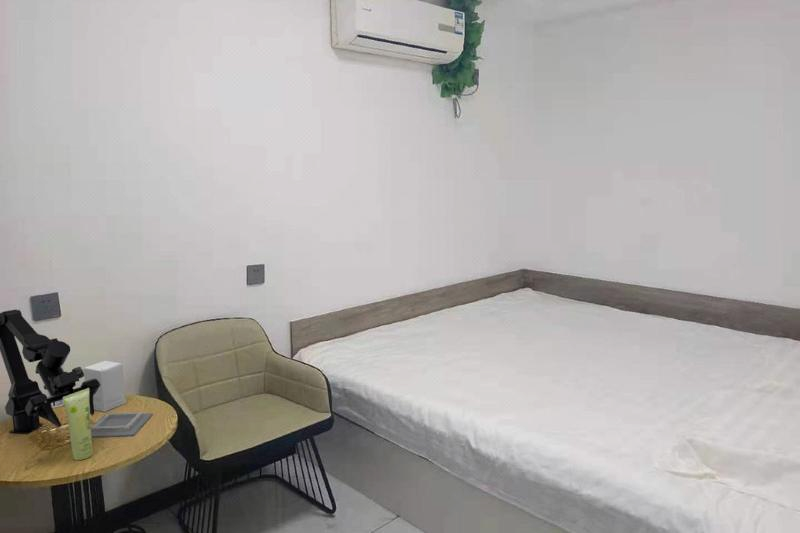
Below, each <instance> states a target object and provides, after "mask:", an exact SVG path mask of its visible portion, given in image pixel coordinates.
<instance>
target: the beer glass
mask: <svg viewBox="0 0 800 533" xmlns="http://www.w3.org/2000/svg"><path fill="white" fill-rule="evenodd" d="M61 367H62V369H63V371H64V372H66V371H65V366H64V364H63V365H62V366H61ZM41 382H42V385H43V387H44V385H45V384H44V383H43V381H42V380H41ZM44 392H45V395H46V396H47V397H50V394H49V392H48V390H47V389H46V390H45V389H44ZM51 406H52V409H54V408H60V407H62V406H63V407H64V406H65V405H64V401H63V400H60V401H57V402H53V403H51Z"/></svg>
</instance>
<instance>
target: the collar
mask: <svg viewBox="0 0 800 533" xmlns="http://www.w3.org/2000/svg"><path fill="white" fill-rule="evenodd" d="M143 414H144V412H143V411H140V412H139V411H138V412H110V413H106V414H104V415H105V416H104V415H103V416H104V417H103V418H102V419H101V420H100V421H99V422H98V423H97V424H95V423H94V424H95V425H94V424H93V425H94V426H93V427H92V428H91V433H106V432H129V431H130V430H131V429H132V428H133V427H134V426H135V425H136V424H137V423H138V421H139V420H140V419H141V418H142V417H143ZM125 418H133V419H132V420H131V421H130V422H129V423H128V424H127V425H126V426H103V425H104V424H105V423H106V422H108V421H109V420H110V419H125Z"/></svg>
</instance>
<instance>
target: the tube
mask: <svg viewBox="0 0 800 533" xmlns="http://www.w3.org/2000/svg"><path fill="white" fill-rule="evenodd" d="M63 401H64V405H63V406H64V409H65V414H66V419H67V425H68V426H67V427H68V431H69V432H68V433H69V437H70V444H71V450H72V458H73V460H76V461H81V460H82V461H84V460H85V459H88V458H90V457H92V456H93V455H94V454H93V452H94V451H93V450H94V449H93V440H92V439H93V438H91V426H92V425H91V414H90V405H89V388H87V389H85V390H82V391H79V392H76V393H73V394H71V395H68V396H65V397H63Z"/></svg>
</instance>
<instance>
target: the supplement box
mask: <svg viewBox="0 0 800 533" xmlns="http://www.w3.org/2000/svg"><path fill="white" fill-rule="evenodd" d="M82 370H83V372H84V381H88V380H91V379H97V380H98V381H99V382H100V384H101V385H100V387H99V388H98V390H97V392H96V393H95V394H94V395H93V404H94V411H99V412H102V413H105V412H106V413H107V412H108V411H111V410H113V409H115V408H118V407H119V406H122V405H124V404H127V403H126V402H127V400H126V389H125V381H124V380H125V379H124V378H125V377H124V368H123V363H122V362H115V361H109V360H103V361H100V362H97V363H94V364H91V365H88V366H84V367H83V369H82Z"/></svg>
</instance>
